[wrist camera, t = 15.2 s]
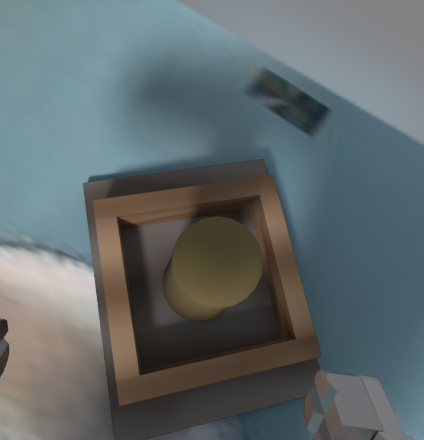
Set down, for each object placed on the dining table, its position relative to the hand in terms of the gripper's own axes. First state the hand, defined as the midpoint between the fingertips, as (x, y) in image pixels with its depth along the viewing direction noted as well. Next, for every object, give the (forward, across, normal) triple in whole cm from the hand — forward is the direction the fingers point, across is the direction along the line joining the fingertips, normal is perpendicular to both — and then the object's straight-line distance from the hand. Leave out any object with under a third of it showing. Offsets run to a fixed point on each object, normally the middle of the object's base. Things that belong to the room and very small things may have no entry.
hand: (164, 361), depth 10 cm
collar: (+18, -2, +11) cm, 21 cm away
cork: (+18, -2, +10) cm, 21 cm away
